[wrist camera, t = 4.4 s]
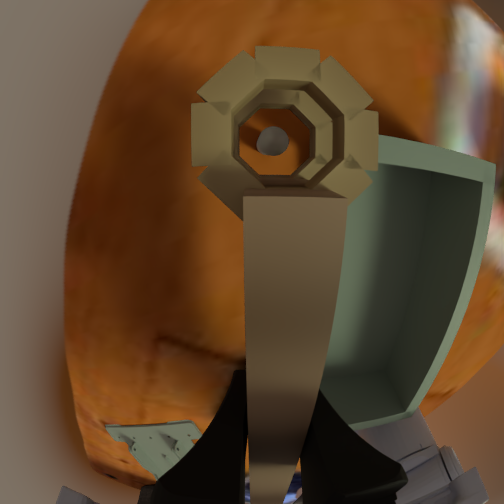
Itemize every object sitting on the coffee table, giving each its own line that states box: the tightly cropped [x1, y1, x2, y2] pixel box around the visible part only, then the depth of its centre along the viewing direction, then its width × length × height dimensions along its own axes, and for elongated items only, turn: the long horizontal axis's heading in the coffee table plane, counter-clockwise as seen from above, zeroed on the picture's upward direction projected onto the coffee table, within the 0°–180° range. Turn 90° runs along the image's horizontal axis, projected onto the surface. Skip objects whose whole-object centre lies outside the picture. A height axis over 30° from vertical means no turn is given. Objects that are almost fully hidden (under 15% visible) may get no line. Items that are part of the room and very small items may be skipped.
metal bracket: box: [105, 420, 202, 480], centre depth 28 cm, size 14×6×15 cm
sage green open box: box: [256, 127, 496, 431], centre depth 16 cm, size 20×13×6 cm, turn 0°
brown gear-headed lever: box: [191, 46, 379, 504], centre depth 10 cm, size 22×4×6 cm, turn 0°
